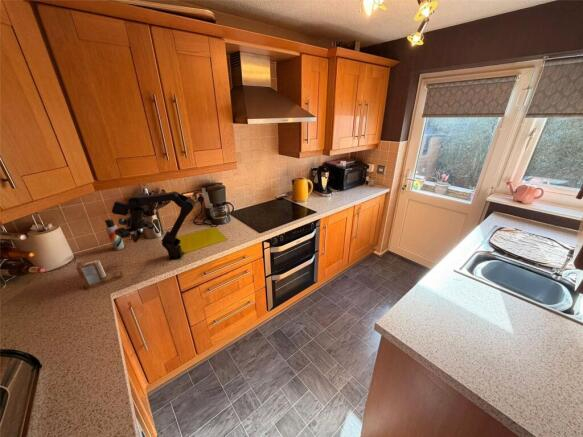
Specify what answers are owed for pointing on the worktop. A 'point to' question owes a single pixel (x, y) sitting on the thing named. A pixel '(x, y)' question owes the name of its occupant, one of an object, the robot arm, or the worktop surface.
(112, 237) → the lotion bottle
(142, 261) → the worktop surface
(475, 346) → the worktop surface
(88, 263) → the frame
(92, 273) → the window frame
